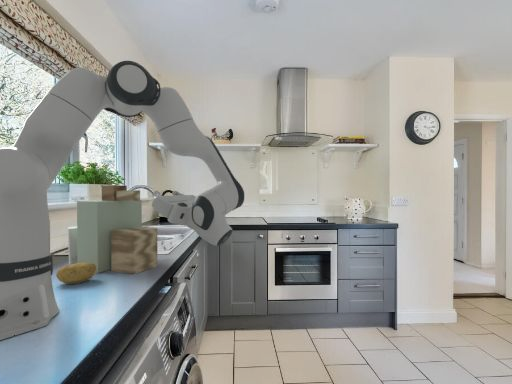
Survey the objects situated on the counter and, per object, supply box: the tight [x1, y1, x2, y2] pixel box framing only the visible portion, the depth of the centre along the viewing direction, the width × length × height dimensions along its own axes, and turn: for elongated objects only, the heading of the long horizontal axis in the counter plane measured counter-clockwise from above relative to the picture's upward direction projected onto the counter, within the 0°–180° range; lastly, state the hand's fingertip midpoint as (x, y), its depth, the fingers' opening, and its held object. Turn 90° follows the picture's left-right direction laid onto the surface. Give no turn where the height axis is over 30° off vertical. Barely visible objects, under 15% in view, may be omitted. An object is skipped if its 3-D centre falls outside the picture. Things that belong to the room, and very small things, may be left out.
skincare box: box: [67, 225, 77, 265], centre depth 115 cm, size 8×7×16 cm
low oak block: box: [110, 226, 159, 275], centre depth 109 cm, size 12×11×15 cm
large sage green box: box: [76, 199, 143, 274], centre depth 114 cm, size 20×12×26 cm, turn 154°
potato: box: [55, 262, 97, 285], centre depth 92 cm, size 7×11×6 cm, turn 114°
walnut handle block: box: [101, 185, 141, 201], centre depth 112 cm, size 6×16×6 cm, turn 64°
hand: (164, 192), depth 102 cm, fingers open, 8 cm apart
